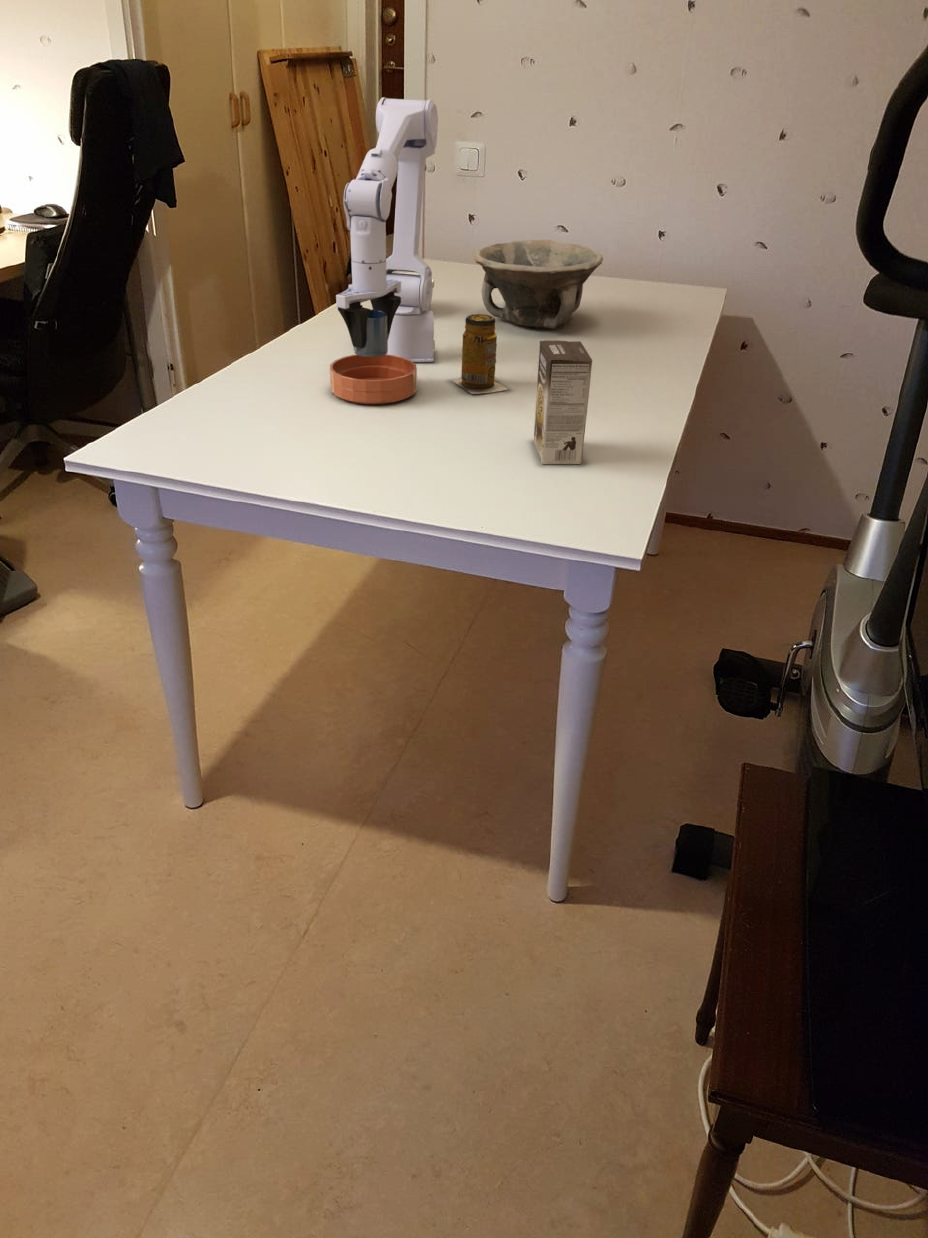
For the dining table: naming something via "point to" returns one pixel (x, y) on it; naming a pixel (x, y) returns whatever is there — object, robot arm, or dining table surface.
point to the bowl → (536, 280)
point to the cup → (375, 335)
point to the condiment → (479, 355)
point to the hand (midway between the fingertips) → (370, 342)
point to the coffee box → (561, 401)
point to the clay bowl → (373, 378)
